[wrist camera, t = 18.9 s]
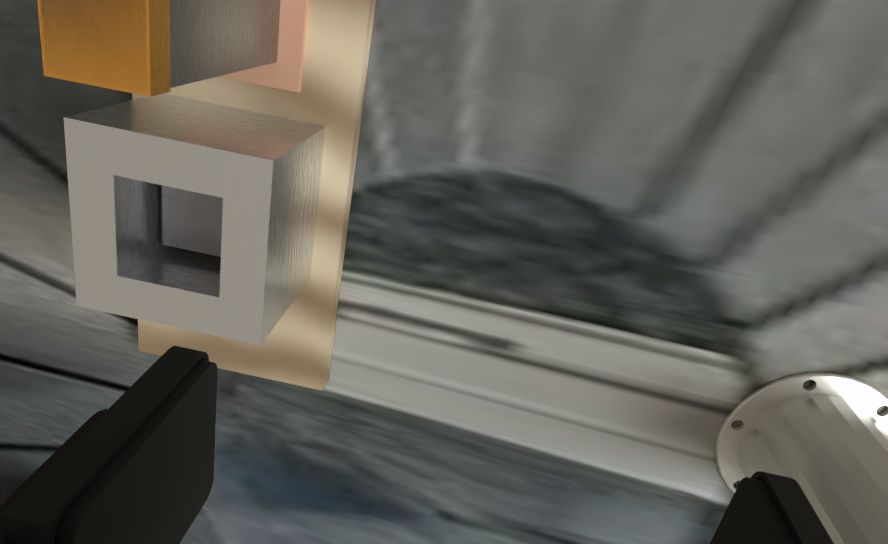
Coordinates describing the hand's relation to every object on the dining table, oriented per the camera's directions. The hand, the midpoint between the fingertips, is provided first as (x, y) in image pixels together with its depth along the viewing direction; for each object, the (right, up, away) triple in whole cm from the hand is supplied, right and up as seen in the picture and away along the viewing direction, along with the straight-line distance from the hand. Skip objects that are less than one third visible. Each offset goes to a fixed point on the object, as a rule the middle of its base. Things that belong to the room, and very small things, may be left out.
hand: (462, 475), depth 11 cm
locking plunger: (-14, +7, +25) cm, 30 cm away
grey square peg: (-12, +18, +25) cm, 33 cm away
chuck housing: (-14, +9, +29) cm, 33 cm away
